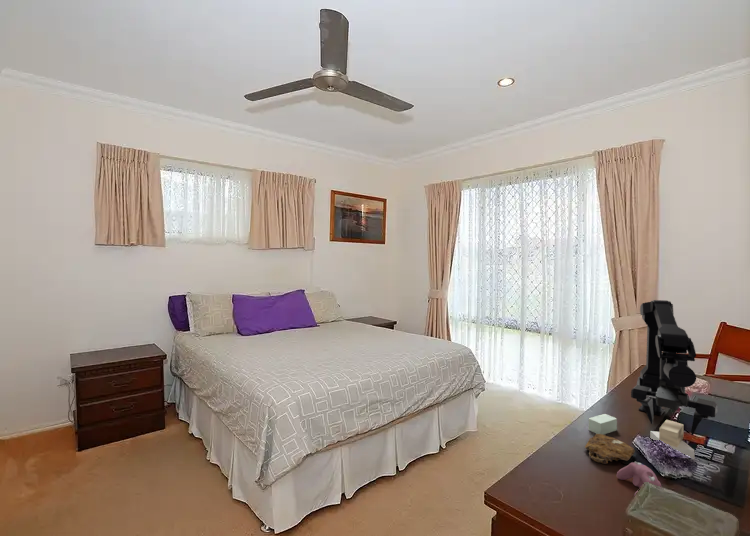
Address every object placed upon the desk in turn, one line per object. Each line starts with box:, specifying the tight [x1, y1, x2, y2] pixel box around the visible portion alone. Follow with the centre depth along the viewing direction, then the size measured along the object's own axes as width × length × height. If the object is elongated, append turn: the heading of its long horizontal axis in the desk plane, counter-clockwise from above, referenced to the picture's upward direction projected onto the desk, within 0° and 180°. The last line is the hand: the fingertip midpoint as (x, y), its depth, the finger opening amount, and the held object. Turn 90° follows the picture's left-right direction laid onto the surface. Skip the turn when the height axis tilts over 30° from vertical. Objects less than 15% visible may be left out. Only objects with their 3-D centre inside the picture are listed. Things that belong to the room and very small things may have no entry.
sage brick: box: [587, 413, 618, 435], centre depth 116 cm, size 8×4×4 cm, turn 114°
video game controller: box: [616, 461, 662, 497], centre depth 86 cm, size 10×5×7 cm, turn 170°
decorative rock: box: [584, 433, 636, 465], centre depth 101 cm, size 11×4×15 cm
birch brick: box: [658, 419, 685, 447], centre depth 105 cm, size 8×4×4 cm, turn 130°
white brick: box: [649, 430, 695, 460], centre depth 104 cm, size 10×6×3 cm, turn 167°
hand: (671, 428), depth 104 cm, fingers open, 9 cm apart
